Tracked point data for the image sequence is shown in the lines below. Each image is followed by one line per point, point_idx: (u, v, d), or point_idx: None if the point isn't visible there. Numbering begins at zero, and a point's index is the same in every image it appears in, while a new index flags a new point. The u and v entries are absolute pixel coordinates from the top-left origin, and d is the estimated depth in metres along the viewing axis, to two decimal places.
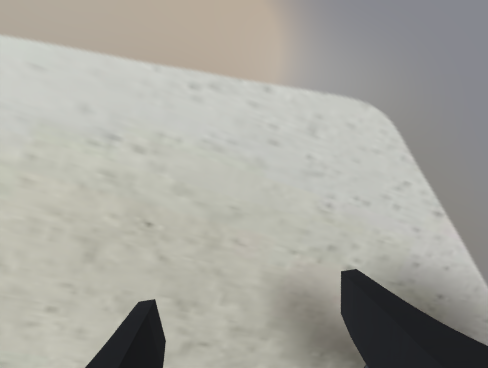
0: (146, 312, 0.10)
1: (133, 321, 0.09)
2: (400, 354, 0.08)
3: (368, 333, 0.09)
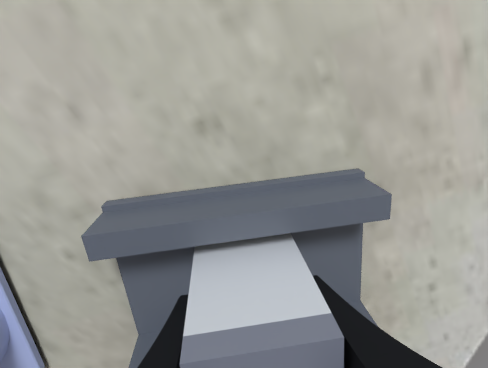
0: None
1: (181, 314, 0.09)
2: (345, 363, 0.08)
3: None
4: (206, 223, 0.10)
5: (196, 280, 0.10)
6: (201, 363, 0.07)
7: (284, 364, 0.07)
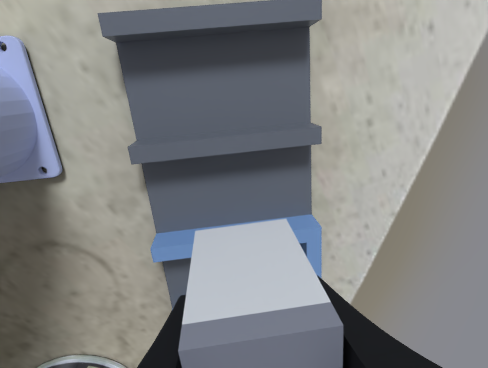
0: None
1: (181, 314, 0.09)
2: (345, 363, 0.08)
3: None
4: (187, 10, 0.14)
5: (195, 271, 0.10)
6: (200, 351, 0.07)
7: (283, 352, 0.07)
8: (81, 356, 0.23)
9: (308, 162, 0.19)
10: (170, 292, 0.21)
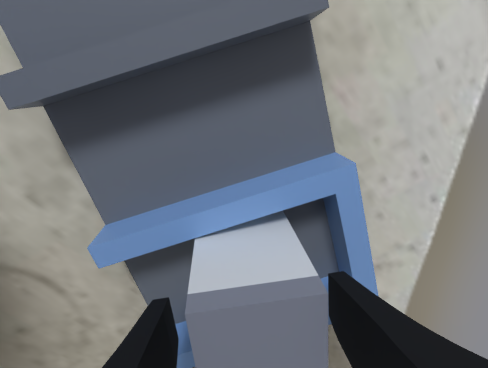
0: (161, 310, 0.10)
1: (149, 319, 0.09)
2: (382, 357, 0.08)
3: (353, 335, 0.09)
4: None
5: (198, 252, 0.11)
6: (204, 314, 0.08)
7: (276, 317, 0.08)
8: None
9: (314, 65, 0.12)
10: None
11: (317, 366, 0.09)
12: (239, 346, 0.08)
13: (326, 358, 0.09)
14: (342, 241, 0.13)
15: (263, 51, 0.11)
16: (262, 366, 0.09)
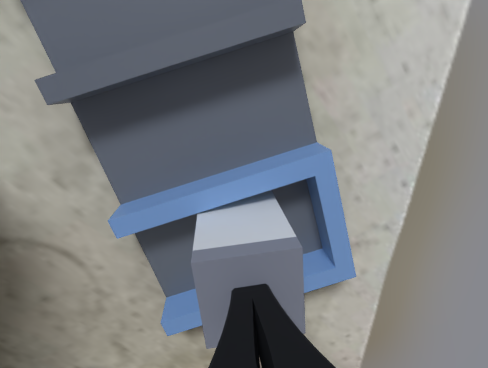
0: (250, 296, 0.10)
1: (242, 304, 0.09)
2: None
3: (262, 350, 0.09)
4: None
5: (200, 223, 0.13)
6: (205, 263, 0.10)
7: (262, 266, 0.10)
8: None
9: (297, 68, 0.14)
10: (158, 277, 0.17)
11: (296, 309, 0.11)
12: None
13: (302, 302, 0.11)
14: (322, 217, 0.15)
15: (254, 57, 0.14)
16: None
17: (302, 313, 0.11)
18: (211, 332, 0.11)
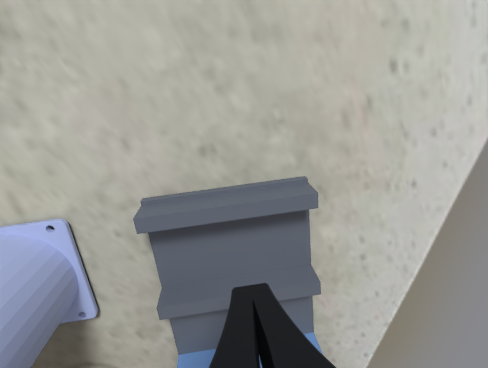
0: (250, 296, 0.10)
1: (242, 304, 0.09)
2: None
3: (262, 350, 0.09)
4: (206, 210, 0.17)
5: None
6: None
7: None
8: None
9: None
10: None
11: None
12: None
13: None
14: None
15: None
16: None
17: None
18: None
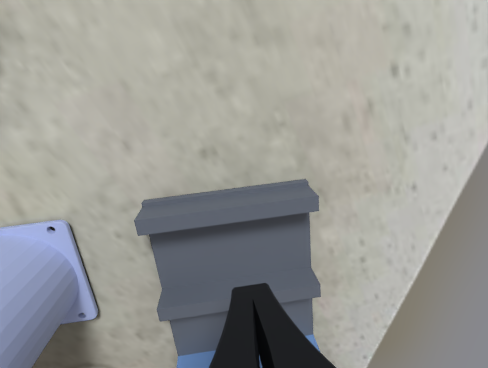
0: (250, 296, 0.10)
1: (242, 304, 0.09)
2: None
3: (262, 350, 0.09)
4: (207, 213, 0.17)
5: None
6: None
7: None
8: None
9: None
10: None
11: None
12: None
13: None
14: None
15: None
16: None
17: None
18: None
